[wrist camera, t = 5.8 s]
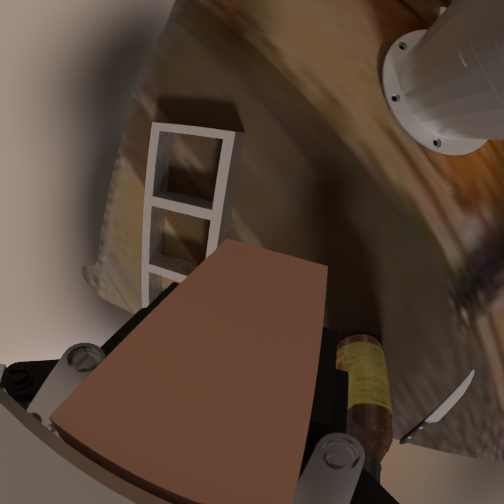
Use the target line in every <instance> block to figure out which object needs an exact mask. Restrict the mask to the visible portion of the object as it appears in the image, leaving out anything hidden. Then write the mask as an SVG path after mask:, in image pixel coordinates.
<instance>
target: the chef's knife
mask: <svg viewBox="0 0 504 504" xmlns="http://www.w3.org/2000/svg"><path fill="white" fill-rule="evenodd" d="M473 375H474V370H473V371H472V372H471V373H470V374H469V375H468V376H467V377H466V378H465V380H464V381H463V382H462V383H461V384H460V385H459V386H458V387H457V388H456V389H455V390H454V391H453V392H452V393H451V394H450V395H449V396H448V397H447V398H446V399H445V400H444V401H443V402H442V403H441V404H440V405H439V406H438V407H437V408H436V409H435V410H434V411H433V412H432V413H431V414H430V415H429V416H428V417H427V418H425V419H424V420H423V421H422V422H421V423H420V424H419V425H418V426H417V427H416V428H415V429H413V430H412V431H411V432H410V433H409V434H408V435H406V436H405V437H404V438H403V439H402V440H401V441H400V444H405V443H407V441H408V440H409V439H410V438H411V437H412V436H413V435H415V434H416V433H417V432H418V431H419V430H421V429H422V428H423V427H424V426H426V425H427V424H428V423H430V422H437V421H439V420H440V419H441V418H442V417H443V416H444V415H445V414H446V413H447V412H448V411H449V410H450V408H451V407H452V406H453V405H454V404H455V403H456V402H457V401H458V400H459V399H460V397H461V396H462V395H463V394H464V392H465V391H466V389H467V387H468V386H469V384H470V382H471V380H472V377H473Z"/></svg>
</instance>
